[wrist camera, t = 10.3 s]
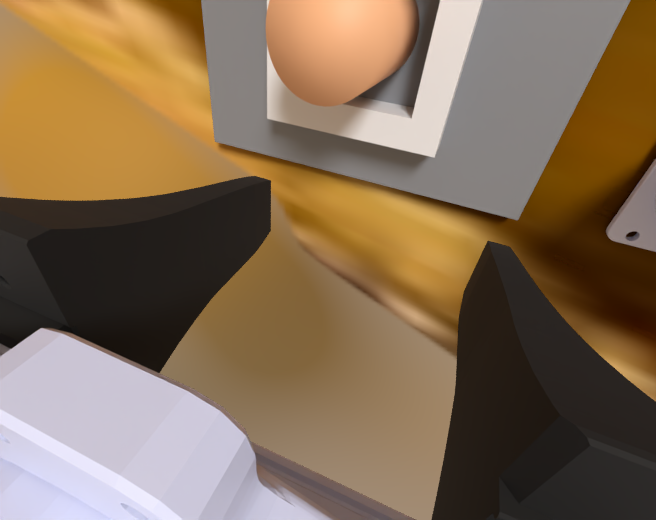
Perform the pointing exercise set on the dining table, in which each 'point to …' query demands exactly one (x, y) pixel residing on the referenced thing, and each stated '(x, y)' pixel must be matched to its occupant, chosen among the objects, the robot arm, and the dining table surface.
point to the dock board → (423, 98)
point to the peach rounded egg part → (339, 45)
